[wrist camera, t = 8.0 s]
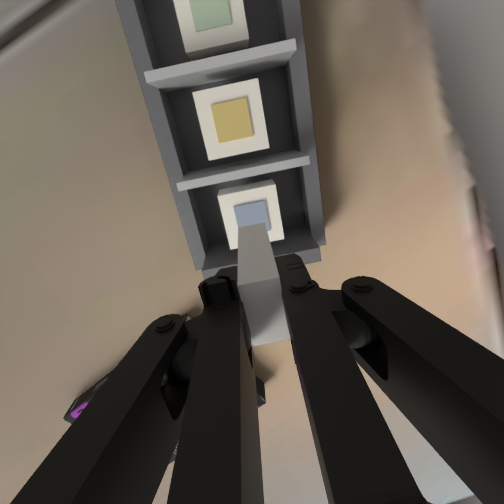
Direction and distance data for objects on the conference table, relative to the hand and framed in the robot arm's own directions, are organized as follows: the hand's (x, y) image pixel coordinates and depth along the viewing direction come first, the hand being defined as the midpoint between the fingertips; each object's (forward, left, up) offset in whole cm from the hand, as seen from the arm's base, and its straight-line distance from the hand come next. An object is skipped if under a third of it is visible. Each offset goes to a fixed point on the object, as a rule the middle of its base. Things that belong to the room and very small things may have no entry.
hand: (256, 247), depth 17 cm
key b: (0, 0, -9) cm, 9 cm away
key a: (0, +14, -11) cm, 18 cm away
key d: (0, +7, -9) cm, 11 cm away
